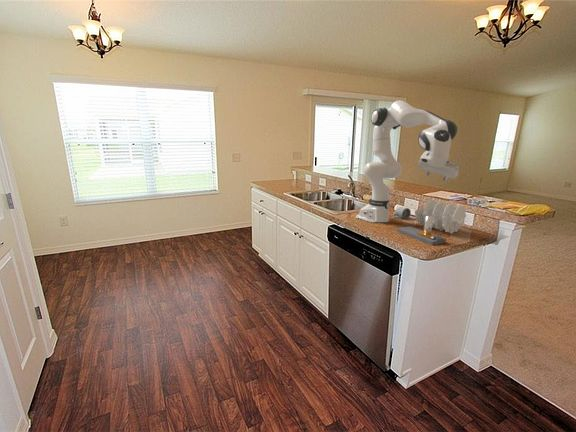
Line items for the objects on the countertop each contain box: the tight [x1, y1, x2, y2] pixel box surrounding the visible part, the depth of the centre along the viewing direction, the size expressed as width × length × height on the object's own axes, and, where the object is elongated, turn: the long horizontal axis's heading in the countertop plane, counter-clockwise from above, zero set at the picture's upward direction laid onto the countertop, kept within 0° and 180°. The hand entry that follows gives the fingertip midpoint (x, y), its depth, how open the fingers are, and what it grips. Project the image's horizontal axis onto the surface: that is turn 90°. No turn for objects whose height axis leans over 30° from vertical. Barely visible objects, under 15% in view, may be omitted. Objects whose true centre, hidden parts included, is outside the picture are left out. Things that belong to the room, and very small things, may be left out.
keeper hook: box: [433, 234, 443, 241], centre depth 156 cm, size 3×3×2 cm
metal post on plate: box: [417, 216, 436, 239], centre depth 160 cm, size 11×5×11 cm, turn 24°
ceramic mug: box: [392, 206, 412, 220], centre depth 204 cm, size 11×8×8 cm
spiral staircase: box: [414, 199, 467, 235], centre depth 177 cm, size 18×18×25 cm
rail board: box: [396, 225, 447, 246], centre depth 166 cm, size 25×10×2 cm, turn 24°
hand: (436, 177), depth 162 cm, fingers open, 8 cm apart
